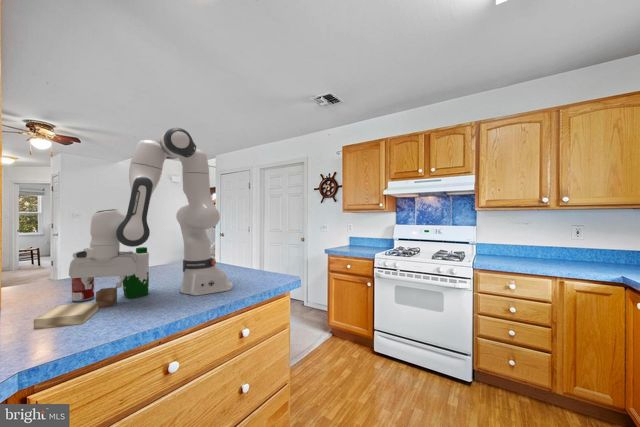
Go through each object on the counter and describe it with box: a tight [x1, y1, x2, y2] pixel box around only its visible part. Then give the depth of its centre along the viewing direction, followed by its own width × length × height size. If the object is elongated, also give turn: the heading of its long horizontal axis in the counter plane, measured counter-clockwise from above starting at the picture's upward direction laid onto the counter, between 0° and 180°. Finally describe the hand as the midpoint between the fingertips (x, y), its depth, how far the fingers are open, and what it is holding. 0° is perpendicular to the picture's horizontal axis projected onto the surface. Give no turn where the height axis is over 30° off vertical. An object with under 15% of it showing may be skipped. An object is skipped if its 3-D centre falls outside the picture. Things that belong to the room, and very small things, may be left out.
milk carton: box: [122, 246, 150, 300], centre depth 114 cm, size 9×9×20 cm
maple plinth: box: [33, 301, 99, 330], centre depth 90 cm, size 12×12×3 cm
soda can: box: [71, 277, 95, 303], centre depth 108 cm, size 7×7×12 cm
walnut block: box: [95, 286, 118, 309], centre depth 103 cm, size 5×5×6 cm
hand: (103, 288), depth 102 cm, fingers open, 8 cm apart
